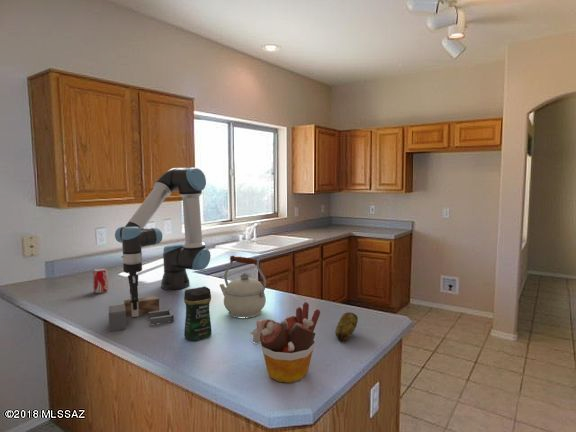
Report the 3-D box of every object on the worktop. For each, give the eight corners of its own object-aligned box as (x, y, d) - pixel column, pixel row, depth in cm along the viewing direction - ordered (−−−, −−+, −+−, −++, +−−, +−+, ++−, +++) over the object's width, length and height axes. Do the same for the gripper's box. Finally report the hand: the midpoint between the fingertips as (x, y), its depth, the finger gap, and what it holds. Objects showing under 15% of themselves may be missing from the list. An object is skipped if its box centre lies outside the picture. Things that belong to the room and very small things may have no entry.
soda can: (102, 294, 192) (101, 271, 191) (90, 293, 194) (89, 270, 193) (111, 290, 199) (110, 268, 198) (99, 289, 201) (98, 267, 199)
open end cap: (170, 314, 163) (170, 309, 163) (173, 321, 155) (173, 315, 155) (148, 317, 159) (148, 312, 159) (150, 325, 151) (150, 319, 151)
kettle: (277, 311, 167) (276, 256, 165) (252, 324, 152) (252, 264, 149) (232, 302, 180) (232, 250, 178) (206, 313, 164) (205, 257, 162)
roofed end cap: (125, 321, 155) (124, 304, 154) (126, 328, 147) (125, 310, 147) (109, 323, 153) (108, 306, 152) (109, 331, 145) (108, 313, 144)
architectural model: (250, 342, 135) (250, 322, 135) (263, 336, 141) (263, 317, 140) (257, 345, 133) (256, 325, 133) (270, 339, 139) (269, 319, 138)
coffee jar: (190, 343, 134) (188, 292, 132) (181, 336, 140) (180, 287, 138) (215, 337, 140) (214, 288, 138) (205, 330, 146) (204, 283, 144)
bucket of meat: (285, 398, 100) (285, 325, 98) (245, 376, 112) (244, 310, 110) (330, 370, 115) (331, 307, 113) (291, 353, 126) (291, 295, 124)
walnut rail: (157, 308, 171) (157, 295, 170) (159, 311, 167) (158, 298, 166) (124, 313, 165) (123, 300, 164) (125, 316, 161) (124, 303, 160)
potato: (326, 338, 139) (326, 317, 138) (346, 328, 148) (347, 308, 147) (344, 344, 133) (344, 323, 132) (364, 334, 142) (365, 313, 141)
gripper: (122, 258, 171) (124, 306, 173) (124, 268, 151) (126, 322, 153) (140, 257, 174) (141, 304, 176) (143, 266, 154) (145, 319, 156)
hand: (134, 312), depth 164 cm, fingers open, 9 cm apart
